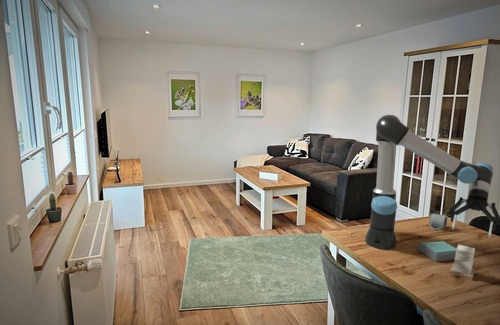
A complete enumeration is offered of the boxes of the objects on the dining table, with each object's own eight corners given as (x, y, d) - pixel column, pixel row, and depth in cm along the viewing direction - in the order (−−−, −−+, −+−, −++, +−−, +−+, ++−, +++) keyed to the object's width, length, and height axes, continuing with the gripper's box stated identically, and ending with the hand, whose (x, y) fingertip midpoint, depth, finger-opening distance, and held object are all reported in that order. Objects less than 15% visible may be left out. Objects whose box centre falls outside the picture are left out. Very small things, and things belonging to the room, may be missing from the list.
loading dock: (435, 261, 150) (436, 253, 150) (417, 249, 162) (418, 242, 161) (461, 259, 153) (462, 251, 152) (442, 247, 165) (443, 240, 164)
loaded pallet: (449, 273, 140) (453, 249, 138) (452, 266, 146) (456, 243, 144) (472, 280, 135) (476, 255, 133) (474, 272, 141) (478, 248, 139)
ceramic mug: (430, 223, 197) (432, 211, 195) (446, 226, 192) (448, 214, 190) (426, 228, 189) (427, 216, 187) (442, 232, 184) (444, 219, 182)
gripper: (511, 202, 149) (505, 243, 141) (448, 191, 165) (439, 228, 156) (513, 193, 144) (506, 236, 136) (448, 183, 160) (438, 221, 151)
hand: (470, 232), depth 146 cm, fingers open, 13 cm apart
